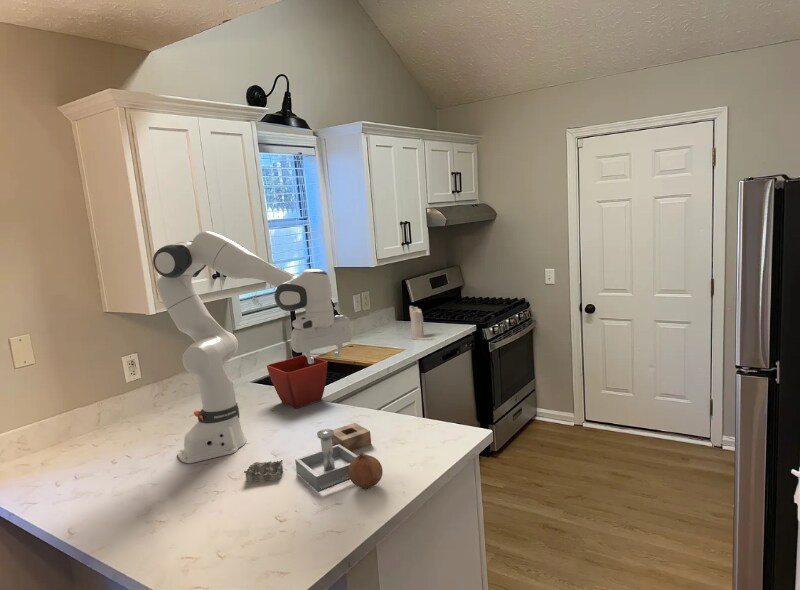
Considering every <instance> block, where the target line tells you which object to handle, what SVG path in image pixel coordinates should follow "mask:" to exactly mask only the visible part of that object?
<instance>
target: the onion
mask: <svg viewBox="0 0 800 590" xmlns="http://www.w3.org/2000/svg"><path fill="white" fill-rule="evenodd" d="M349 463H350V462H349ZM383 472H384V471H383V466H382V463H381V462H380V461H379V459H377V458H376V457H374V456H372V455H369V454H365V453H364V452H361V453H359V454H358V455H357V457H355V458H354V459H353V460H352V461H351V463H350V465H349V469H348V474H349V475H348V478H350V480H349V481H351V483H352V484H354V485H355V486H356V487H358V488H360V489H362V490H369V489H372V488H373V487H375V486H376V485H378V483H379V482H380V481H381V479H382V477H383Z"/></svg>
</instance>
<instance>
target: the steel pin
mask: <svg viewBox="0 0 800 590" xmlns="http://www.w3.org/2000/svg"><path fill="white" fill-rule="evenodd" d="M333 430H334V429H331V428H325V429H321V430H318V431H317V433H316V434H317V439H319V440H320V446H321V450H322V456H323V461H322V463H323V464H322V465H323V470H324V472H326V471H329V470H332V469H334V468H336V466H335V457H334V456H333V447H332V438H331V437H332V436H334V431H333Z"/></svg>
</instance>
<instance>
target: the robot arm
mask: <svg viewBox="0 0 800 590" xmlns="http://www.w3.org/2000/svg"><path fill="white" fill-rule="evenodd" d="M152 264H153V268H154V269H155V271H156V272H157V274H159V275H160V277H159V278H158V280H157V281H156V288H157V292H158V295H159V297H160V299H161V302H162V303H163V305H164V307H165V309H166V310H167V312H168V315H169V316H170V318H171V320H172V321H173V323H174V324H175V326H176V328H177V329H178V330H179V331H180V332H181V333H183V334H186V335H187V336H189V337H190V338H191V339H192V340H193V341H194V342H192V344H190V345H189V347H187V348H186V350H185V351H184V353H183V354H182V358H181V359H182V364H183V365H182V366H183V367H184V369H185V371H187V372H188V373H190V374H191V375H192V376H193V377H194V380H195V381H196V384H197V385H198V390H199V393H200V394H199V395H200V399H201V405H202V408H201V409H200V410H199V409H195V410H194V411H193V415H194V416H195V417H197V422H195V424H194V425H193V426H192V427H191V428H190V429H189V430H188V431H187V432H186V433H185V435H184V438H183V447H180V448H179V449H178V451H177V456H178V457H177V458H178V459H179V461H181V462H182V463H186V464H193V463H197V462H202V461H206V460H210V459H214V458H219V457H223V456H227V455H231V454H235V453H236V452H237V451H238V449H239V448H241V447H242V446H244V445H245V444H246V442H247V438H246V436H245V433H244V432H243V428H242V425H241V421H240V409H239V404H238V402H237V400H236V393H235V385H234V381H233V380H232V379H231V378H229V377H228V375H227V373H226V370H225V367H224V366H225V365H224V364H225V363H227V362H228V361H230V360H231V359H232V358H233V357H234V356H235V355H236V353H237V351H238V349H239V341H238V339H237V337H236V336H235V335H234V334H233V333H232V332H230V331H227V330H226V329H225V328H223V327H222V326H221V325H220V324H219V323H218V322H217V321H216V319H215V318H214V317H213V316H212V315H211V313H210V311H208V309H207V307H206V305H205V304H204V302H203V301H202V299H201V298H200V295H199V294H198V292H197V290H196V289H195V287H194V286H193V285H194V284H193V282H192V279H193V278H196V277H198V276H199V274H200V273H201V272H202V271H203V270H204V269H205V268H206V267H209V268H211V269H212V270H214V271H216V272H217V273H219V274H221V275H222V276H225V277H228V278H231V279H235V280H237V279H239V280H240V279H256V280H259V281H263V282H265V283H267V284H269V285H271V286H274V287H275V288H276V289H275V291H274V295H273V296H274V301H275V304H276V305H277V307H278V308H279V309H280V310H282V311H284V312H294V311H297V310H300V309H305V314H304V315H301V316H299V318H296V319H295V320H294V319H293V321H292V327H293V329H292V331H291V336H290V337H291V338H290V339H291V340H290V344H291V349H292V350H293V351H294V352H295V353H298V354H299V353H303V355H305V356H306V357H307V359H308V363H309V364H312V363H314V358H312V357H313V356H312V357H310V356H311V355H310V354H311V351H313V350H318V349H323V348H327V347H331V346H332V347H333V346H336V347H337V348H336V350H335V351H334V352H333V356H334V358H335V359H339V358H341V352H342V349H343V347H344V345H343V344H346V343H351V341H352V339H353V334H352V330H351V320H350V317H349V316H347V315H345V314H340V315H335V314H334V306H333V303H332V297H333V294H332V293H333V292H332V286H331V285H332V284H331V279H330V276H329V274H328V272H327V271H325V270H323V269H319V268H308V269H305V270H303V271H302V273H300V274H298V275H297V274H293V273H290V272H288V271H286V270H284V269H282V268H281V267H278V266H276V265H274V264H272V263H271V262H269V261H266V260H264V259H263V258H261V257H259V256H258V255H256V254H254V253H253V252H251V251H249V250H247V249H246V248H244V247H243V246H241V245H240V244H237V242H235V241H233V240H231V239H229V238H227V237H225V236H223V235H221V234H219V233H216V232H213V231H209V230H203V231H201V232H199V233H197V234H196V236H195V237H194V238H193V240H190V241H179V242H176V243H172V244H167V245H164V246H162V247H160V248H158V250H156V252H155V253H154V255H153V257H152Z"/></svg>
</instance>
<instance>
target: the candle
mask: <svg viewBox="0 0 800 590" xmlns="http://www.w3.org/2000/svg"><path fill="white" fill-rule="evenodd" d="M409 317H410V324H411V325H410V326H411V328H410V329H411V339H412V340H419V341H429V340H430V341H431V340H434V339H435V338H434V337H431V336H425V332H424V315H423V311H422V308H419V307H418V306H414V305H409Z"/></svg>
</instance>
